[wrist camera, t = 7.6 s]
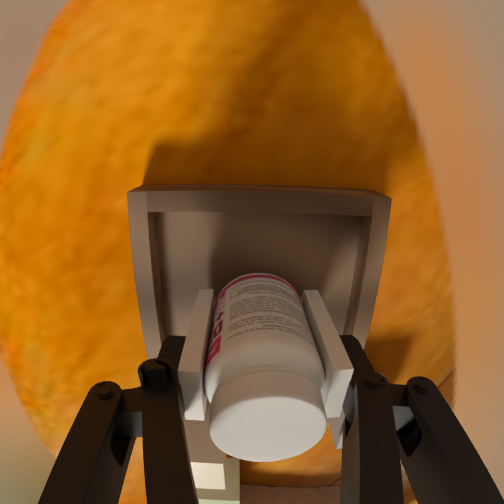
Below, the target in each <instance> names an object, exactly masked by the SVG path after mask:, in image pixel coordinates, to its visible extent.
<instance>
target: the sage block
mask: <svg viewBox="0 0 504 504" xmlns="http://www.w3.org/2000/svg"><path fill="white" fill-rule="evenodd" d="M196 492H197V497H198V501H199V504H240V459H238V458H226V489H225V490H223V489H204V488H196Z"/></svg>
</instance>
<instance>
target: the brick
mask: <svg viewBox="0 0 504 504" xmlns="http://www.w3.org/2000/svg"><path fill="white" fill-rule="evenodd" d="M340 487H341V486H324V487H317V488H316V487H268V486H258V485H245V484H240V504H339V502H340Z"/></svg>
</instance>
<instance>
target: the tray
mask: <svg viewBox="0 0 504 504" xmlns="http://www.w3.org/2000/svg"><path fill="white" fill-rule="evenodd" d="M127 199H128V215H129V228H130V239H131V250H132V259H133V268H134V276H135V284H136V291H137V298H138V305H139V312H140V318H141V324H142V330H143V335H144V341H145V346H146V352H147V357H148V359H153V358H157V357H158V354H159V351H160V348H161V346H162V343H163V341H164V340H165V339H166V338H167V337H168V336H169V335H173V336H187V332H188V328H189V324H190V321H191V317H192V313H193V310H194V306H195V302H196V299H197V295H198V291H199V289H214V306H215V303H216V300H217V297H218V295H219V294H220V292H221V291H222V289H223V288H224V287H225V286H226V285H227V284H228V283H230V282H231V281H232V280H234V279H236V278H238V277H240V276H242V275H246V274H250V273H267V274H272V275H276V276H278V277H280V278H282V279H284V280H286V281H287V282H288V283H289V284H291V285H292V287H293V288H294V289H295V290H296V292H297V293H298V295H299V297H300V299H301V302H302V303H303V293H304V290H318V292H319V294H320V296H321V298H322V300H323V302H324V304H325V307H326V309H327V311H328V313H329V315H330V317H331V319H332V322H333V324H334V326H335V328H336V330H337V332H338V335H350V334H351V335H353V336H354V337H355V338H356V339H357V340H359V342H360V344H361V346H362V349H363V350H364V348H365V344H366V340H367V336H368V332H369V327H370V323H371V319H372V314H373V310H374V305H375V300H376V296H377V291H378V285H379V280H380V275H381V269H382V264H383V258H384V251H385V245H386V238H387V231H388V224H389V216H390V208H391V199H392V198H390V197H388V196H385V195H383V194H380V193H378V192H376V191H369V190H355V189H341V188H325V187H306V186H281V185H242V184H180V185H141V186H139V187H137V188H135V189H133V190H130V191H128V192H127ZM207 399H208V398H207Z"/></svg>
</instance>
